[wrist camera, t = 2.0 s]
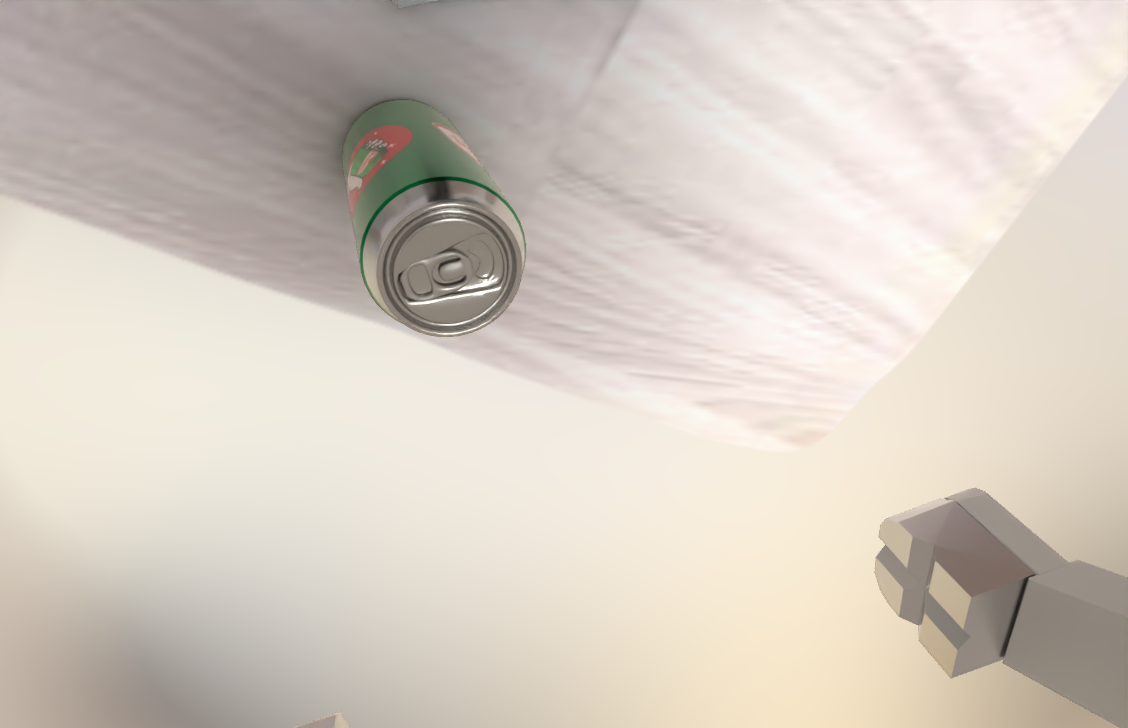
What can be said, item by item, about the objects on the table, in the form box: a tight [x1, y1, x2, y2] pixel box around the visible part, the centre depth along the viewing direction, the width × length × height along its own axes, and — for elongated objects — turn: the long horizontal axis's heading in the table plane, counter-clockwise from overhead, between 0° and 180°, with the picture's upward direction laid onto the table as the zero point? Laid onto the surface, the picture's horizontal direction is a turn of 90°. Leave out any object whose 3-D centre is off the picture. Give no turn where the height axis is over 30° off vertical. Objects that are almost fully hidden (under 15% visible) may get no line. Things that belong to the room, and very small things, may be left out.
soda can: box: [342, 100, 526, 337], centre depth 27 cm, size 5×5×12 cm
